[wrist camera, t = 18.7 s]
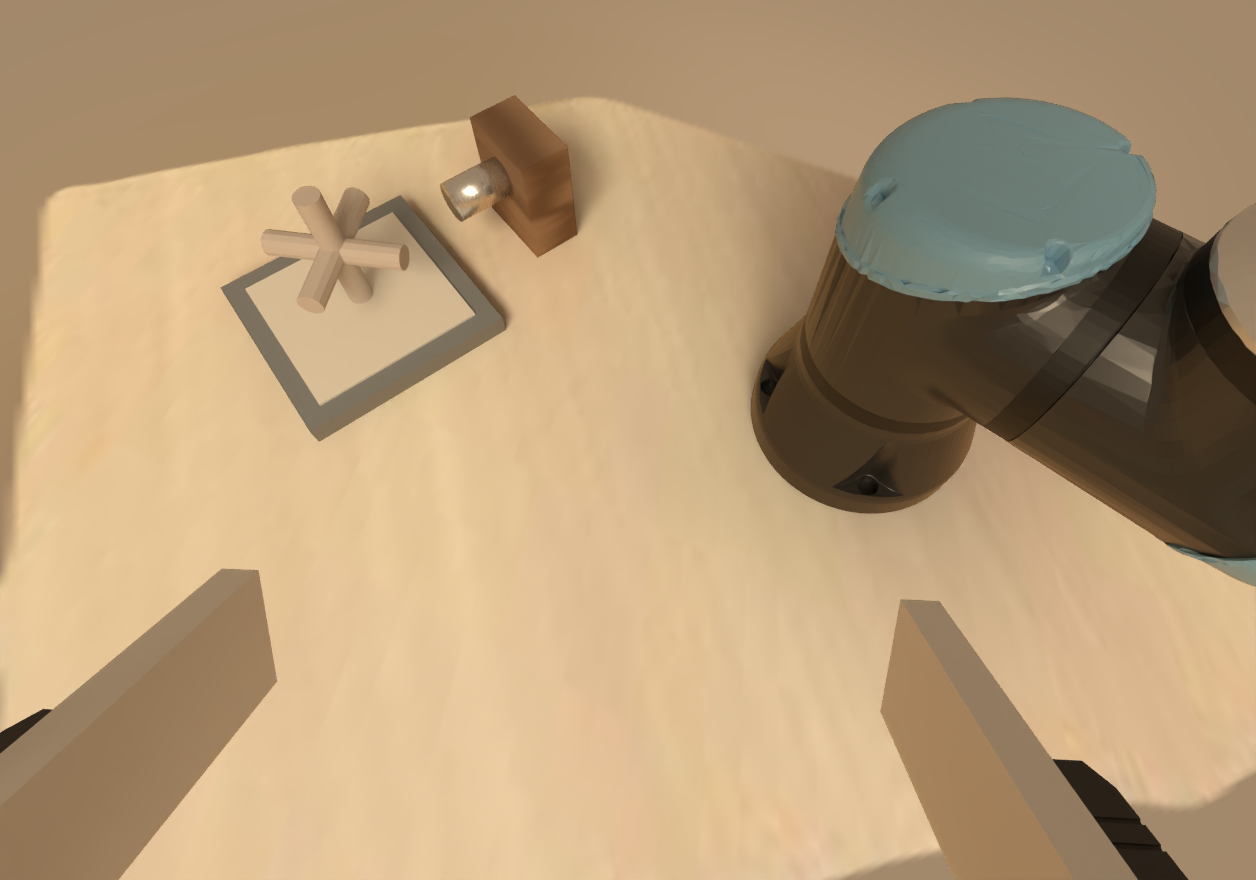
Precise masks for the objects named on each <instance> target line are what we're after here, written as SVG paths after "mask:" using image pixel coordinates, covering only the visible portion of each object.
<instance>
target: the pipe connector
mask: <svg viewBox="0 0 1256 880" xmlns="http://www.w3.org/2000/svg"><path fill="white" fill-rule="evenodd" d="M292 201H293V203H294V205H295V207H296V208H297V210H298V212H299V214H300V215H301V217H302V219H303V220H304V222H305V224H306V225H307V227H308V229H309V231H310V232H311V234H306V233H297V232H289V231H280V230H271V229H268V230H265V231H264V232H263V234H262V238H261V244H262V248H263V251H264V252H265V253H266V254H267V255H271V256H280V257H288V258H297V259H306V260H314V261H313V264H312V266H311V268H310V270H309V273H308V275H307V277H306V279H305V282H304V284H303V286H302V288H301V291H300V293H299V295H298V297H297V304H298V305H299V306H300V307H301V308H303V309H305V310H307V311H308V312H312V313H316V314H318V313H323V312H324V310H325V308H326V306H327V303H328V301H329V299H330V296H331V294H332V291H333V289H334V287H335V284H336V282H337V279H338V280H339V282H340V283H341V285H342V287H343V288H344V290H345V292H346V294H347V295H348V297H349V299H350V300H351V301H352V302H353V303H356V304H362V303H365V302H367V301H369V300H370V299H371V297H372V295H373V291H372V289H371V287H370V285H369V283H368V281H367V279H366V277H365V275H364V274H363V272H362V270H361V268H360V266H366V267H375V268H384V269H392V270H401V271H404V270H406V269H407V267H408V265H409V250H408V247H407V246H406V245H404V244H395V243H386V242H377V241H368V240H360V239H355V236H356V234H357V232H358V229H359V227H360V225H361V222H362V220H363V217H364V215H365V213H366V210H367V208H368V205H369V203H370V202H369V198H368V196H367V195H366V194H365V193H364V192H362V191H361V190H359V189H356V188H347V189H346V190H345V192H344V194H343V196H342V198H341V201H340V203H339V205H338V207H337V210H336V212H335V214H334V216H333V215H332V213H331V211H330V209H329V208H328V206H327V204H326V202H325V200H324V198H323V196H322V194H321V193H320V191H319V189H318V188H316V187H314V186H304V187H301V188H299V189H297V190H296V191H295V192H294V193H293V195H292Z"/></svg>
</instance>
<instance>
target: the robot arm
mask: <svg viewBox="0 0 1256 880" xmlns="http://www.w3.org/2000/svg"><path fill="white" fill-rule="evenodd" d="M1130 148H1131V143H1130V141H1129V140H1128V139H1127V138H1126V137H1125V136H1124V135H1122V134H1121V133H1119V132H1118V131H1117V130H1115V129H1114V128H1112V127H1111V126H1109V125H1107V124H1105V123H1104V122H1102V121H1100V120H1098V119H1096V118H1094V117H1092V116H1090V115H1087V114H1085V113H1082V112H1079V111H1077V110H1074V109H1071V108H1068V107H1064V106H1061V105H1057V104H1053V103H1048V102H1044V101H1038V100H1031V99H1020V98H983V99H976V100H974V101H972V102H970V103H969V102H968V103H954V104H948V105H944V106H941V107H938V108H935V109H932V110H929V111H927V112H925V113H922V114H920V115H918V116H916V117H914V118H913V119H911V120H909V121H907V122H905V123H904V124H902V125H901V126H899V127H898V128H897V129H895V130H894V131H893V132H892V133H890V134H889V135H888V136H887V137H886V138H885V139H884V140H883V141H882V142H881V143H880V144H879V145H878V147H877V148H876V149H875V150H874V152H873V153H872V154H871V156H870V157H869V159H868V161H867V163H866V164H865V166H864V169H863V171H862V173H861V175H860V177H859V180H858V182H857V184H856V186H855V189H854V191H853V193H852V194H851V195H850V196H849V198H848V199H847V200H846V202H845V203H844V205H843V207H842V210H841V213H840V215H839V218H838V220H837V226H836V231H835V237H834V240H833V243H832V245H831V248H830V251H829V254H828V257H827V259H826V262H825V265H824V268H823V270H822V273H821V276H820V279H819V281H818V284H817V287H816V290H815V292H814V295H813V298H812V301H811V303H810V306H809V309H808V312H807V315H806V316H805V317H804V318H802V319H801V320H800V321H799V322H798V323H797V324H796V325H795V326H793V327H792V328H791V329H790V330H789V331H788V332H787V333H786V334H784V335H783V336H782V337H781V338H780V339H779V340H778V341H777V342H776V343H775V344H774V346H773V347H772V348H771V350H770V351H769V353H768V354H767V356H766V357H765V359H764V361H763V363H762V365H761V367H760V370H759V373H758V376H757V379H756V382H755V386H754V389H753V393H752V400H751V417H752V423H753V428H754V432H755V435H756V438H757V441H758V443H759V445H760V447H761V449H762V451H763V453H764V455H765V456H766V458H767V459H768V461H769V462H770V463H771V465H772V466H773V467H774V469H775V470H776V471H777V472H778V473H779V474H780V475H781V476H782V477H783V478H784V479H785V480H786V481H787V482H788V483H790V484H791V485H792V486H793V487H795V488H796V489H797V490H799V491H800V492H802V493H803V494H805V495H807V496H808V497H810V498H812V499H814V500H816V501H818V502H820V503H823V504H825V505H828V506H831V507H834V508H837V509H841V510H845V511H850V512H857V513H886V512H892V511H897V510H901V509H904V508H907V507H910V506H912V505H915V504H917V503H919V502H921V501H923V500H924V499H926V498H928V497H929V496H930V495H932V494H933V493H934V492H936V491H937V490H938V489H939V488H940V487H941V486H942V485H943V484H944V483H945V482H946V481H947V480H948V479H949V478H950V477H951V476H952V475H953V474H954V473H955V472H956V471H957V470H958V468H959V467H960V465H961V464H962V462H963V461H964V459H965V457H966V455H967V453H968V451H969V449H970V446H971V443H972V440H973V436H974V431H975V427H976V423H978V424H980V425H981V426H983V427H985V428H987V429H988V430H990V431H992V432H993V433H995V434H997V435H998V436H1000V437H1001V438H1003V439H1005V440H1006V441H1007V442H1009V443H1010V444H1012V445H1013V446H1015V447H1016V448H1018V449H1020V450H1021V451H1023V452H1024V453H1026V454H1027V455H1029V456H1031V457H1032V458H1034V459H1035V460H1037V461H1038V462H1040V463H1042V464H1043V465H1045V466H1046V467H1048V468H1049V469H1051V470H1052V471H1054V472H1056V473H1057V474H1059V475H1060V476H1062V477H1063V478H1065V479H1067V480H1068V481H1070V482H1071V483H1073V484H1074V485H1076V486H1077V487H1079V488H1081V489H1082V490H1084V491H1085V492H1087V493H1088V494H1090V495H1092V496H1093V497H1095V498H1096V499H1098V500H1099V501H1101V502H1103V503H1104V504H1106V505H1107V506H1109V507H1110V508H1112V509H1113V510H1115V511H1117V512H1118V513H1120V514H1121V515H1123V516H1124V517H1126V518H1128V519H1129V520H1131V521H1132V522H1134V523H1135V524H1137V525H1139V526H1140V527H1142V528H1143V529H1145V530H1146V531H1148V532H1149V533H1151V534H1153V535H1154V536H1155V537H1156V538H1158V539H1159V540H1161V541H1163V542H1164V543H1165V544H1166V545H1167V546H1169V547H1170V548H1172V549H1173V550H1175V551H1177V552H1179V553H1181V554H1183V555H1186V556H1190V557H1193V558H1195V559H1198V560H1201V561H1203V562H1205V563H1207V564H1208V565H1210V566H1212V567H1214V568H1216V569H1218V570H1219V571H1221V572H1223V573H1225V574H1227V575H1229V576H1230V577H1232V578H1234V579H1237V580H1239V581H1241V582H1243V583H1246V584H1249V585H1252V586H1255V587H1256V203H1255V204H1253V205H1251V206H1249V207H1247V208H1246V209H1245V210H1243V211H1242V212H1241V213H1239V214H1238V215H1236V216H1235V217H1234V218H1232V219H1231V220H1230V221H1229V222H1227V223H1226V225H1225V226H1224V227H1223V228H1222V229H1221V230H1220V231H1219V232H1217V234H1215V236H1213V237H1212V238H1211V239H1210V240H1209V241H1208V242H1207V243H1204V242H1202V241H1199V240H1197V239H1195V238H1193V237H1191V236H1189V235H1187V234H1185V233H1183V232H1181V231H1178V230H1176V229H1174V228H1172V227H1170V226H1168V225H1166V224H1164V223H1162V222H1160V221H1158V220H1155V219H1154V218H1152V217H1153V209H1154V206H1155V202H1156V184H1155V180H1154V176H1153V174H1152V172H1151V168H1150V166H1149V164H1148V162H1147V161H1146V159H1145V158H1144V157H1143V156H1141V155H1132V154H1128V153H1129V151H1130ZM276 682H277V678H276V672H275V666H274V660H273V654H272V648H271V642H270V636H269V630H268V624H267V618H266V612H265V606H264V600H263V594H262V588H261V583H260V577H259V571H258V570H240V569H221V570H220V571H219V572H217V573H216V574H215V575H214V576H213V577H211V578H210V579H209V580H208V581H207V582H206V583H204V584H203V585H202V586H201V587H200V588H198V589H197V590H196V591H195V592H194V593H192V594H191V595H190V596H189V597H188V598H186V599H185V600H184V601H183V602H182V603H180V604H179V605H178V606H177V607H176V608H174V609H173V610H172V611H171V612H170V613H168V614H167V615H166V616H165V617H164V618H162V619H161V620H160V621H159V622H158V623H156V624H155V625H154V626H153V627H152V628H150V629H149V630H148V631H147V632H146V633H144V634H143V635H142V636H141V637H140V638H138V639H137V640H136V641H135V642H134V643H132V644H131V645H130V646H129V647H128V648H126V649H125V650H124V651H123V652H122V653H120V654H119V655H118V656H117V657H116V658H114V659H113V660H112V661H111V662H110V663H108V664H107V665H106V666H105V667H104V668H102V669H101V670H100V671H99V672H98V673H96V674H95V675H94V676H93V677H92V678H90V679H89V680H88V681H87V682H86V683H84V684H83V685H82V686H81V687H80V688H78V689H77V690H76V691H75V692H74V693H72V694H71V695H70V696H69V697H68V698H66V699H65V700H64V701H63V702H62V703H60V704H59V705H58V706H57V707H56V708H54V709H53V710H50V709H42V710H41V711H39V712H37V713H35V714H33V715H31V716H30V717H28V718H26V719H24V720H22V721H20V722H19V723H17V724H15V725H13V726H11V727H9V728H8V729H6V730H4V731H2V732H1V733H0V880H119V878H120V877H121V876H122V875H123V873H124V872H125V871H126V870H127V868H128V867H129V866H130V865H131V863H132V862H133V861H134V860H135V858H136V857H137V856H138V855H139V853H140V852H141V851H142V850H143V848H144V847H145V846H146V845H147V843H148V842H149V841H150V840H151V838H152V837H153V836H154V835H155V833H156V832H157V831H158V830H159V828H160V827H161V826H162V825H163V823H164V822H165V821H166V820H167V818H168V817H169V816H170V815H171V813H172V812H173V811H174V810H175V808H176V807H177V806H178V804H179V803H180V802H181V801H182V799H183V798H184V797H185V796H186V794H187V793H188V792H189V791H190V789H191V788H192V787H193V786H194V784H195V783H196V782H197V781H198V779H199V778H200V777H201V776H202V774H203V773H204V772H205V771H206V769H207V768H208V767H209V766H210V764H211V763H212V762H213V761H214V759H215V758H216V757H217V756H218V754H219V753H220V752H221V751H222V749H223V748H224V747H225V746H226V744H227V743H228V742H229V741H230V739H231V738H232V737H233V736H234V734H235V733H236V732H237V731H238V729H239V728H240V727H241V726H242V724H243V723H244V722H245V721H246V719H247V718H248V717H249V716H250V714H251V713H252V712H253V711H254V709H255V708H256V707H257V706H258V704H259V703H260V702H261V701H262V699H263V698H264V697H265V696H266V694H267V693H268V692H269V691H270V689H271V688H272V687H273V686H274V684H275V683H276ZM881 714H882V716H883V718H884V721H885V723H886V725H887V727H888V730H889V732H890V734H891V736H892V739H893V741H894V743H895V746H896V748H897V750H898V752H899V755H900V757H901V759H902V761H903V764H904V766H905V768H906V770H907V773H908V775H909V777H910V779H911V782H912V784H913V786H914V789H915V791H916V793H917V795H918V798H919V800H920V802H921V804H922V807H923V809H924V811H925V813H926V816H927V818H928V820H929V822H930V825H931V827H932V829H933V832H934V834H935V836H936V838H937V841H938V843H939V845H940V847H941V850H942V852H943V854H944V856H945V858H946V861H947V863H948V866H949V868H950V870H951V872H952V875H953V877H954V879H955V880H1188V879H1187V877H1186V876H1185V875H1184V874H1183V872H1182V871H1181V870H1180V869H1179V867H1178V866H1177V865H1176V863H1175V862H1174V861H1173V860H1172V858H1171V857H1170V856H1169V855H1168V853H1167V852H1163V851H1162V850H1161V844H1160V843H1159V842H1158V841H1157V839H1156V838H1155V837H1154V836H1153V834H1152V833H1151V832H1150V831H1149V829H1148V828H1147V827H1146V825H1142V824H1141V822H1140V818H1139V816H1138V815H1137V814H1136V813H1135V811H1134V810H1133V809H1132V808H1131V806H1130V805H1129V804H1128V803H1127V801H1126V800H1125V799H1124V797H1123V796H1122V795H1121V794H1120V792H1119V791H1118V790H1117V789H1116V788H1115V787H1114V786H1113V785H1112V784H1110V783H1109V782H1108V781H1107V780H1105V779H1104V778H1103V777H1102V776H1100V775H1099V774H1098V773H1097V772H1095V771H1094V770H1093V769H1091V768H1090V767H1089V766H1088V765H1086V764H1085V763H1084V762H1083V761H1075V760H1055V759H1052V758H1051V757H1050V756H1049V754H1048V753H1047V751H1046V750H1045V749H1044V747H1043V746H1042V744H1041V743H1040V742H1039V740H1038V739H1037V737H1036V736H1035V735H1034V733H1033V732H1032V730H1031V729H1030V728H1029V726H1028V725H1027V723H1026V722H1025V721H1024V719H1023V718H1022V716H1021V715H1020V714H1019V712H1018V711H1017V709H1016V708H1015V707H1014V705H1013V704H1012V702H1011V701H1010V700H1009V698H1008V697H1007V695H1006V694H1005V693H1004V691H1003V690H1002V688H1001V687H1000V686H999V684H998V683H997V681H996V680H995V679H994V677H993V676H992V674H991V673H990V672H989V670H988V669H987V667H986V666H985V665H984V663H983V662H982V660H981V659H980V658H979V656H978V655H977V653H976V652H975V651H974V649H973V648H972V646H971V645H970V644H969V642H968V641H967V639H966V638H965V637H964V635H963V634H962V632H961V631H960V630H959V628H958V627H957V625H956V624H955V623H954V621H953V620H952V618H951V617H950V616H949V614H948V613H947V611H946V610H945V609H944V607H943V606H942V604H941V603H940V602H939V601H924V600H902V599H901V600H900V606H899V612H898V617H897V623H896V628H895V634H894V639H893V645H892V650H891V656H890V662H889V667H888V673H887V678H886V684H885V689H884V695H883V700H882V706H881Z"/></svg>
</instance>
